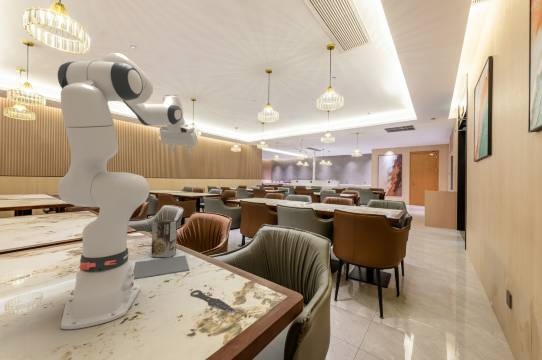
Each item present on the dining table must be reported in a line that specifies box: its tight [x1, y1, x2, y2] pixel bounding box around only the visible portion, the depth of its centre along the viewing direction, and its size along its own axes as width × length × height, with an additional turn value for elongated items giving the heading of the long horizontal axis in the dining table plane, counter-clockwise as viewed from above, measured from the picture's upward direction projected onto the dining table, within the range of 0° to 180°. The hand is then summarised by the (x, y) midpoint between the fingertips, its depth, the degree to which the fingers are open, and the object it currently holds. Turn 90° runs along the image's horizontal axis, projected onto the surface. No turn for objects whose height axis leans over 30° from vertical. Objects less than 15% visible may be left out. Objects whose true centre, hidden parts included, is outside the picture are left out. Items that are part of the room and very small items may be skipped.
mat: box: [133, 255, 190, 280], centre depth 94 cm, size 17×20×1 cm
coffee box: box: [150, 219, 178, 258], centre depth 107 cm, size 9×6×16 cm
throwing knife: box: [190, 289, 238, 314], centre depth 69 cm, size 4×20×1 cm, turn 57°
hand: (181, 152), depth 125 cm, fingers open, 8 cm apart
